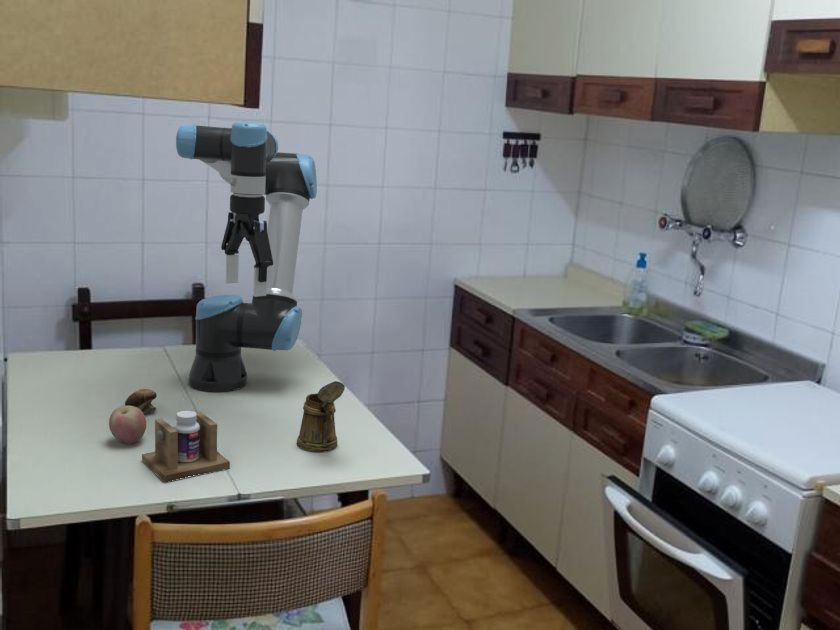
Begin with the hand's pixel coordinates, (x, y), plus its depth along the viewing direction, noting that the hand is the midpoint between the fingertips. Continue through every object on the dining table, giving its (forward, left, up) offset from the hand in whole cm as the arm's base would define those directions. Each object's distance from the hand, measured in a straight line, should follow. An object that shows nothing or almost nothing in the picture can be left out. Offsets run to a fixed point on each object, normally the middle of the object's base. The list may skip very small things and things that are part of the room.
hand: (245, 289), depth 199 cm
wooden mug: (+20, +9, -33) cm, 40 cm away
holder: (+14, -20, -33) cm, 41 cm away
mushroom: (-19, -17, -33) cm, 42 cm away
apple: (-3, -26, -33) cm, 42 cm away
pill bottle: (+14, -20, -31) cm, 40 cm away
